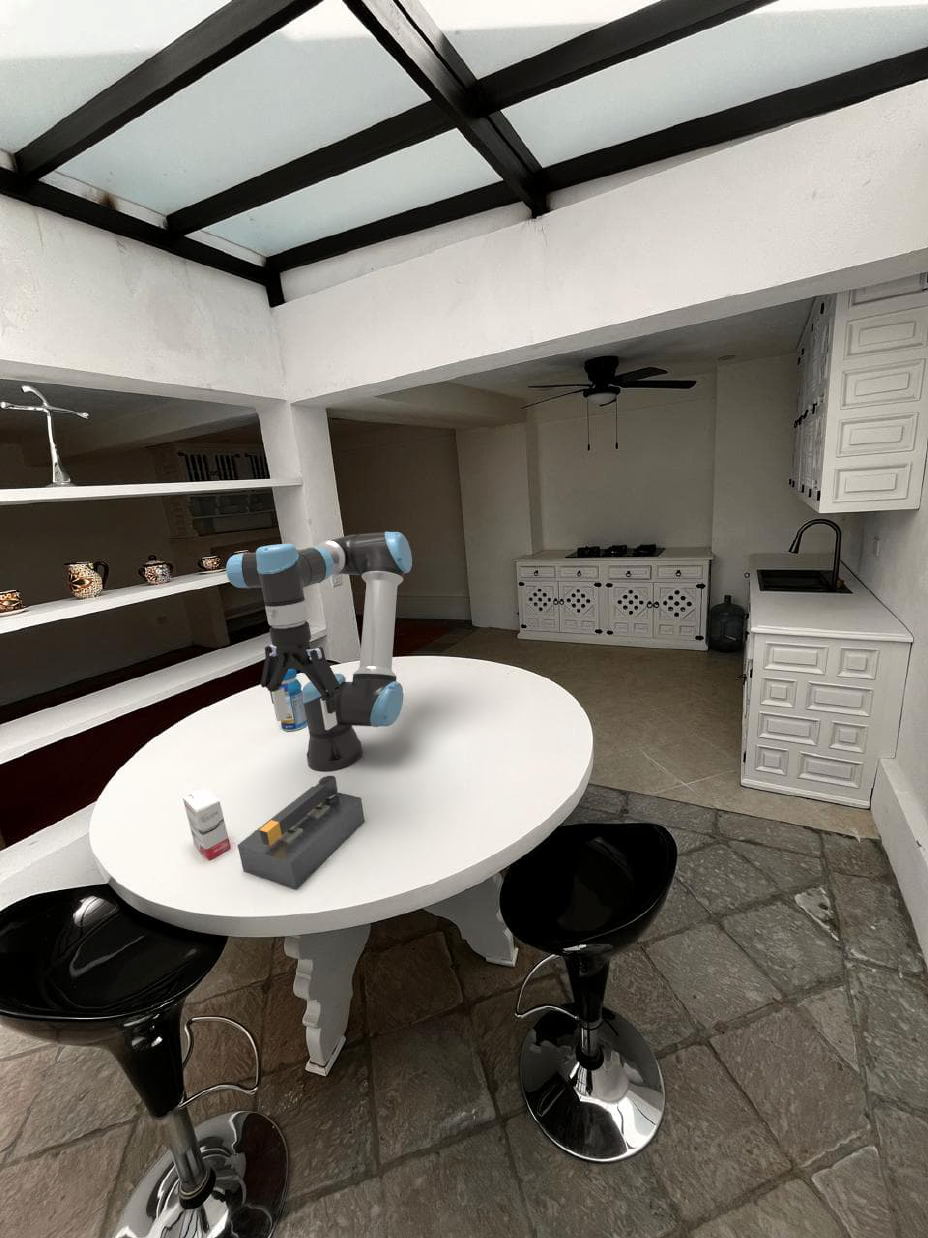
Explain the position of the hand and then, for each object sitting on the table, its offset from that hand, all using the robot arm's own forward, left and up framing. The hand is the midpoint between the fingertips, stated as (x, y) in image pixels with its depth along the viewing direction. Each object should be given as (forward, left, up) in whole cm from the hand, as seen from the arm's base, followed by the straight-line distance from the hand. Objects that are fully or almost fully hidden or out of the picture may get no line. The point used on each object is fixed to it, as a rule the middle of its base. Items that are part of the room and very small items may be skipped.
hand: (306, 722), depth 104 cm
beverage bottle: (-46, +38, -26) cm, 65 cm away
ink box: (-20, -13, -26) cm, 35 cm away
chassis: (0, -6, -25) cm, 26 cm away
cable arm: (0, -5, -18) cm, 19 cm away
